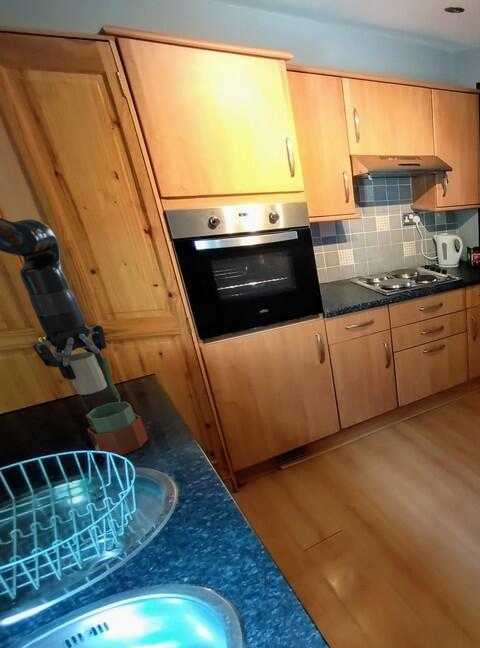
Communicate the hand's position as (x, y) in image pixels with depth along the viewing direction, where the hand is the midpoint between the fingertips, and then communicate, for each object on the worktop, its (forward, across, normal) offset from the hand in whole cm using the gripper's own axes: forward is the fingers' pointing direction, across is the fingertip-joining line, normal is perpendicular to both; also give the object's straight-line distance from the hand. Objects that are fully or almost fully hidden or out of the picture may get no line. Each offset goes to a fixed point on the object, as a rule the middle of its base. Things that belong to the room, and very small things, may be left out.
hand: (85, 372), depth 112 cm
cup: (+5, 0, 0) cm, 5 cm away
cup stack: (+22, 0, +2) cm, 22 cm away
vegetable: (+22, -17, -21) cm, 35 cm away
